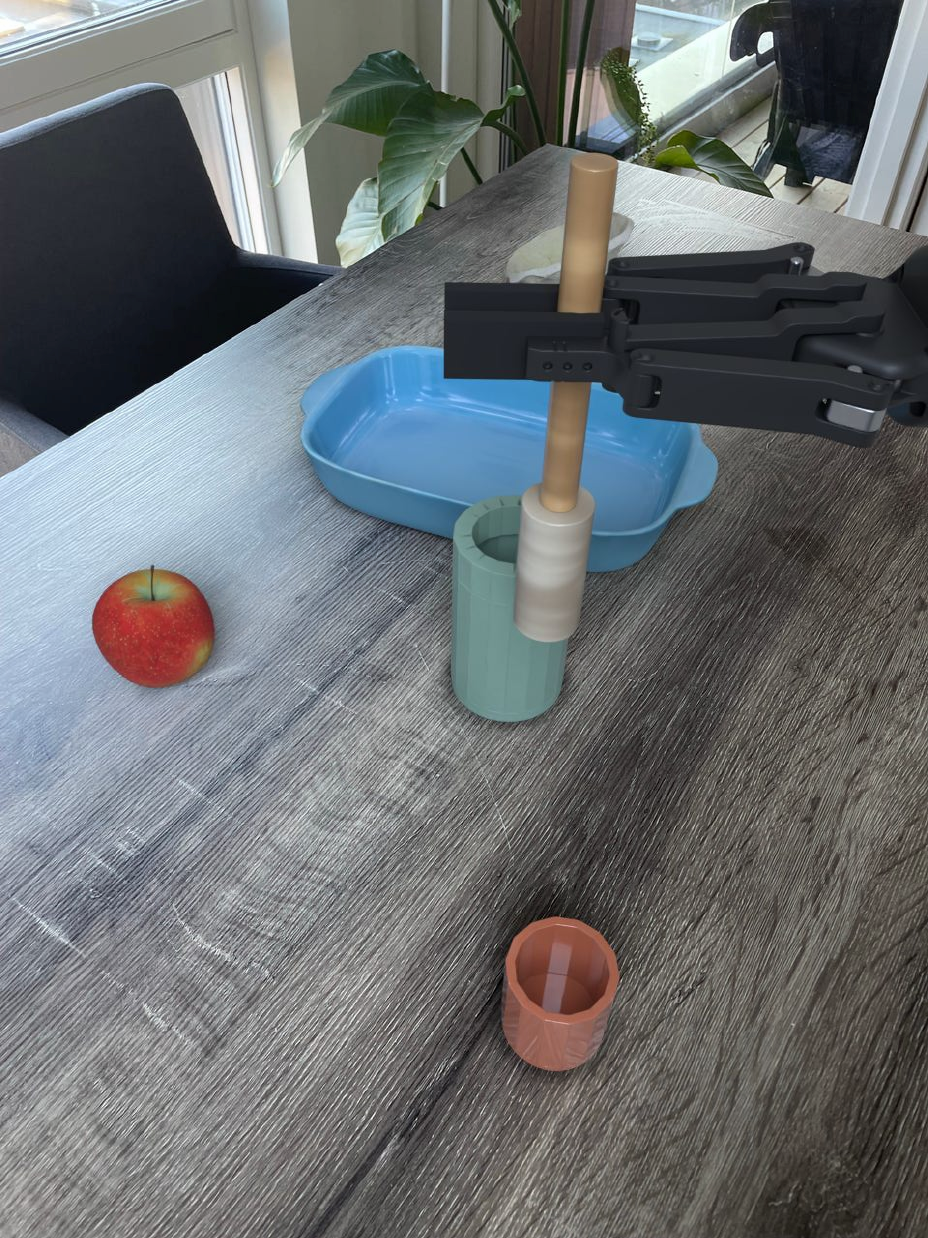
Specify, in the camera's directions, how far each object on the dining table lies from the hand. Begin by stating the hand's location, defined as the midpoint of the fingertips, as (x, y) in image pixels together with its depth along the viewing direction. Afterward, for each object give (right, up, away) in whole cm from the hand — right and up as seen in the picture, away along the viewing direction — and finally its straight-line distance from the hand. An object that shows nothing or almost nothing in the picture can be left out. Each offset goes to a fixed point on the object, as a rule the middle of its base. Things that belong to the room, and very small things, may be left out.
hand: (445, 330), depth 42 cm
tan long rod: (+5, -12, +12) cm, 18 cm away
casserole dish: (+4, -1, +49) cm, 49 cm away
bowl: (+12, +25, +75) cm, 80 cm away
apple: (-21, -16, +32) cm, 42 cm away
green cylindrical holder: (+4, -17, +32) cm, 36 cm away
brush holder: (+6, -35, +14) cm, 38 cm away
